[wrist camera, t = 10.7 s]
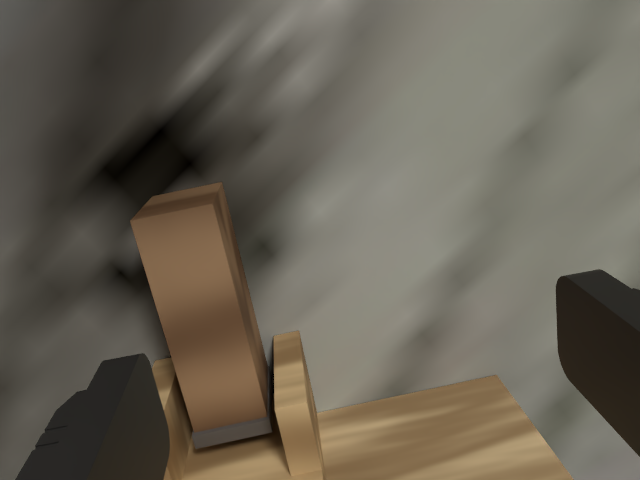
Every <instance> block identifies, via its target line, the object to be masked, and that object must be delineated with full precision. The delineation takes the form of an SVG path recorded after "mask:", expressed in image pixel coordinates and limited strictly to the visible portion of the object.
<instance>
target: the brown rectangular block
mask: <svg viewBox="0 0 640 480" xmlns="http://www.w3.org/2000/svg"><path fill="white" fill-rule="evenodd" d="M130 223H131V226H132V229H133V233H134V236H135V239H136V242H137V246H138V249H139V252H140V256H141V259H142V262H143V265H144V269H145V272H146V275H147V279H148V282H149V285H150V289H151V292H152V295H153V298H154V302H155V305H156V308H157V312H158V315H159V318H160V322H161V325H162V328H163V331H164V335H165V338H166V341H167V345H168V348H169V351H170V354H171V358H172V361H173V364H174V368H175V371H176V374H177V378H178V381H179V384H180V387H181V391H182V394H183V397H184V401H185V404H186V407H187V410H188V414H189V417H190V420H191V424H192V427H193V433H192V439H193V442H194V446H195V449H198V448H203V447H207V446H212V445H216V444H221V443H225V442H230V441H235V440H239V439H244V438H248V437H253V436H258V435H262V434H267V433H271V432H272V375H271V371H270V367H269V366H268V365H267V361H266V357H265V353H264V349H263V345H262V341H261V337H260V333H259V329H258V325H257V321H256V317H255V313H254V309H253V305H252V301H251V297H250V293H249V289H248V285H247V281H246V277H245V273H244V269H243V265H242V261H241V257H240V253H239V249H238V245H237V241H236V237H235V233H234V229H233V225H232V221H231V217H230V212H229V208H228V204H227V200H226V196H225V192H224V188H223V184H222V182H219V183H214V184H209V185H205V186H200V187H195V188H190V189H185V190H180V191H176V192H171V193H166V194H161V195H156V196H152V197H151V198H150V200H149V201H148V202H147V203H146V204H145V205H144V206H143V207H142V208H141V209H140V211H139V212H138V213H137V214H136V215H135V216H134V217H133V218H132V219H131V220H130Z"/></svg>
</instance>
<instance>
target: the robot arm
mask: <svg viewBox="0 0 640 480" xmlns="http://www.w3.org/2000/svg"><path fill="white" fill-rule="evenodd" d="M556 310H557V339H558V354H559V358H560V362H561V365H562V368H563V370H564V372H565V374H566V376H567V378H568V379H569V380H570V382H571V383H572V384H573V385H574V386H575V387H576V388H577V389H578V390H579V391H580V393H581V394H582V395H583V396H584V397H585V398H586V399H587V400H588V401H589V402H590V403H591V404H592V406H593V407H594V408H595V409H596V410H597V411H598V412H599V413H600V414H601V415H602V416H603V417H604V419H605V420H606V421H607V422H608V423H609V424H610V425H611V426H612V427H613V428H614V429H615V431H616V432H617V433H618V434H619V435H620V436H621V437H622V438H623V439H624V440H625V441H626V442H627V444H628V445H629V446H630V447H631V448H632V449H633V450H634V451H635V452H636V453H637V454H638V456H639V457H640V290H638V289H634V288H633V289H631V288H629V287H628V286H626V285H625V284H623V283H622V282H620V281H619V280H617V279H616V278H614V277H612V276H611V275H609V274H608V273H606V272H605V271H603V270H600V269H599V270H593V271H588V272H582V273H577V274H571V275H566V276H561V277H560V278H559V279H558V281H557V284H556ZM35 447H36V449H35V450H33V451H32V452H31V454H30V456H29V457H28V459H27V461H26V463H25V464H24V466H23V468H22V469H21V471H20V473H19V474H18V476H17V478H16V479H15V480H163V479H164V475H165V471H166V467H167V463H168V459H169V453H170V436H169V429H168V424H167V420H166V416H165V413H164V410H163V406H162V403H161V399H160V396H159V392H158V389H157V385H156V382H155V379H154V375H153V372H152V368H151V365H150V362H149V360H148V358H147V356H146V355H145V354H143V353H142V354H137V355H131V356H126V357H121V358H115V359H110V360H105V361H103V362H102V363H101V364H100V366H99V368H98V370H97V372H96V374H95V375H94V377H93V379H92V381H91V383H90V385H89V387H88V388H87V390H84V391H79V392H76V393H75V394H74V395H73V396H72V397H71V398H70V399H69V400H67V401H66V402H65V403H64V404H63V405H62V406H61V407H60V408H58V409H57V410H56V412H55V413H54V415H53V417H52V419H51V420H50V422H49V424H48V425H47V427H46V429H45V433H43V434H42V435H41V437H40V439H39V441H38V442H37V444H36V446H35Z"/></svg>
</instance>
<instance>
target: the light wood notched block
mask: <svg viewBox="0 0 640 480" xmlns="http://www.w3.org/2000/svg"><path fill="white" fill-rule="evenodd" d="M152 372H153V375H154V379H155V382H156V385H157V389H158V392H159V396H160V399H161V403H162V406H163V410H164V413H165V416H166V420H167V424H168V429H169V436H170V453H169V459H168V463H167V467H166V471H165V475H164V479H163V480H574V479H573V478H572V477H571V475H570V474H569V473H568V471H567V470H566V469H565V467H564V466H563V464H562V463H561V462H560V460H559V459H558V458H557V456H556V455H555V454H554V452H553V451H552V450H551V448H550V447H549V445H548V444H547V443H546V441H545V440H544V439H543V437H542V436H541V435H540V433H539V432H538V431H537V429H536V428H535V426H534V425H533V424H532V422H531V421H530V420H529V418H528V417H527V416H526V414H525V413H524V412H523V410H522V409H521V407H520V406H519V405H518V403H517V402H516V401H515V399H514V398H513V397H512V395H511V394H510V393H509V391H508V390H507V388H506V387H505V386H504V384H503V383H502V382H501V380H500V379H499V378H498V376H497V375H494V376H489V377H485V378H480V379H475V380H470V381H466V382H461V383H456V384H452V385H447V386H442V387H437V388H433V389H428V390H423V391H419V392H414V393H409V394H404V395H400V396H395V397H390V398H385V399H381V400H376V401H371V402H367V403H362V404H357V405H352V406H348V407H343V408H338V409H334V410H329V411H324V412H319V413H317V411H316V407H315V402H314V397H313V393H312V388H311V384H310V379H309V375H308V370H307V365H306V361H305V356H304V352H303V347H302V342H301V338H300V333H299V331H295V332H290V333H285V334H280V335H276V336H274V394H273V395H272V432H271V433H267V434H262V435H258V436H253V437H248V438H244V439H239V440H235V441H230V442H225V443H221V444H216V445H212V446H207V447H203V448H198V449H195V446H194V442H193V439H192V433H193V427H192V424H191V420H190V417H189V414H188V410H187V407H186V404H185V401H184V397H183V394H182V391H181V387H180V384H179V381H178V378H177V374H176V371H175V368H174V364H173V361H172V358H171V357H170V358H165V359H160V360H156V361H155V363H154V365H153V368H152Z"/></svg>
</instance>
